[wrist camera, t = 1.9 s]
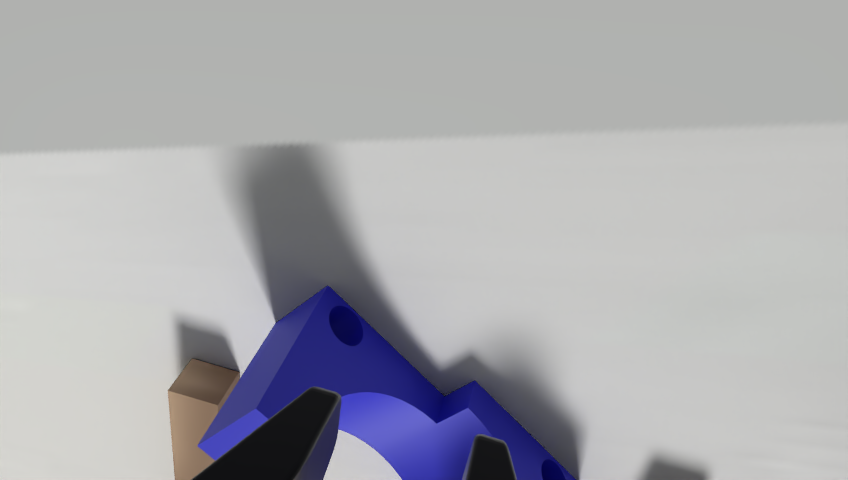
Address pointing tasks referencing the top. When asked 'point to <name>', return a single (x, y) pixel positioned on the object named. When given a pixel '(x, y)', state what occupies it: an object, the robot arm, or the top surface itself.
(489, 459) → the robot arm
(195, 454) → the wooden rod frame
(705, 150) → the top surface
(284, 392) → the cable clip
